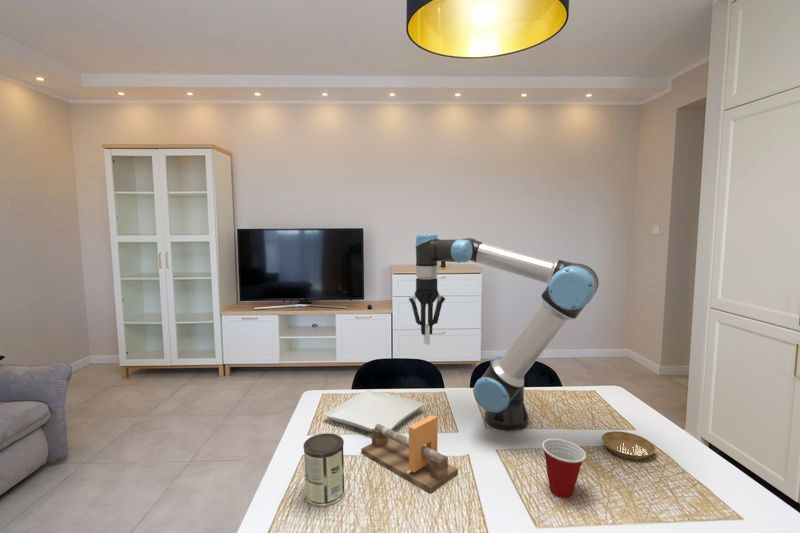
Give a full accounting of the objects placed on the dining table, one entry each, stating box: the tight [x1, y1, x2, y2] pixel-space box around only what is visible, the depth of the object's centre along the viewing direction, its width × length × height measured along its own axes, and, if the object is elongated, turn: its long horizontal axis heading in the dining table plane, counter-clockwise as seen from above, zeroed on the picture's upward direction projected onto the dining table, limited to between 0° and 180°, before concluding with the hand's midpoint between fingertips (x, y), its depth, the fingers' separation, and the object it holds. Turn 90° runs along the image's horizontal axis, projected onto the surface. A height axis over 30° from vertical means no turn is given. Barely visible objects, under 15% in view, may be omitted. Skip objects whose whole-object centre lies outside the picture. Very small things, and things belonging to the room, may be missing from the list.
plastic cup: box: [541, 438, 587, 499], centre depth 109 cm, size 11×11×12 cm
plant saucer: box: [601, 430, 656, 461], centre depth 130 cm, size 15×15×3 cm
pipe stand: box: [360, 424, 459, 494], centre depth 123 cm, size 28×12×8 cm, turn 46°
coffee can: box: [303, 432, 346, 507], centre depth 109 cm, size 10×10×14 cm
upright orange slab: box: [408, 414, 438, 472], centre depth 118 cm, size 2×10×12 cm, turn 135°
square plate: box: [324, 389, 425, 433], centre depth 154 cm, size 27×27×4 cm
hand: (426, 343), depth 148 cm, fingers closed
